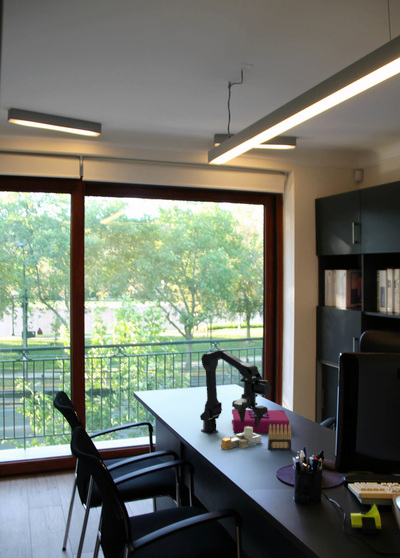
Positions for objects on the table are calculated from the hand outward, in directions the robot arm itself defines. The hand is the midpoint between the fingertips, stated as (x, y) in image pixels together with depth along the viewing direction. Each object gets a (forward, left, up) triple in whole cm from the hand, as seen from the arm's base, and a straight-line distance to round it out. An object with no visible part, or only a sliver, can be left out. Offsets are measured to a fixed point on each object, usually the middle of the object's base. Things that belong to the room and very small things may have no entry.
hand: (249, 424), depth 254 cm
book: (-14, +21, -9) cm, 27 cm away
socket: (0, 0, -8) cm, 8 cm away
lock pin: (0, -11, -8) cm, 14 cm away
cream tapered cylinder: (0, 0, -8) cm, 8 cm away
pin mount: (0, -7, -8) cm, 11 cm away
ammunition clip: (+16, +4, -9) cm, 18 cm away
